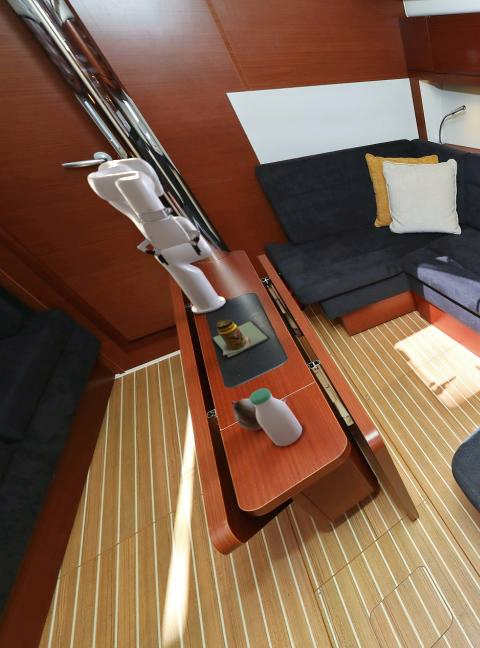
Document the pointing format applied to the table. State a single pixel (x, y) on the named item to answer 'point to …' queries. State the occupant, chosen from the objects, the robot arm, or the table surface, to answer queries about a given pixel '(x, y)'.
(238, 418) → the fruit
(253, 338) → the placemat
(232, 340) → the condiment
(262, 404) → the milk bottle
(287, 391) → the table surface
